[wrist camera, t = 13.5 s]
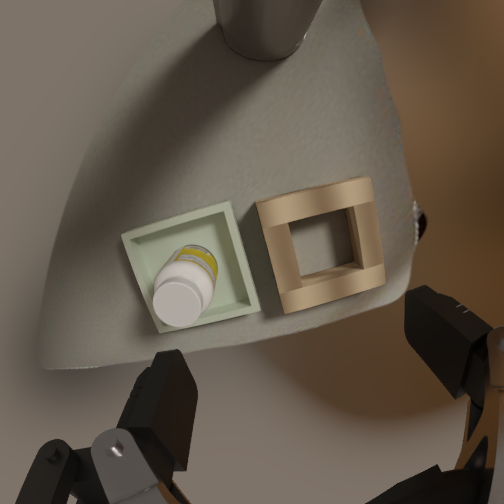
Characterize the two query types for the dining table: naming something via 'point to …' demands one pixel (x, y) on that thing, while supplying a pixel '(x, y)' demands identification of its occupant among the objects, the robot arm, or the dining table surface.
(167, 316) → the supplement bottle
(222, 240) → the tray
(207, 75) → the dining table surface
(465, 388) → the robot arm
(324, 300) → the holder block
